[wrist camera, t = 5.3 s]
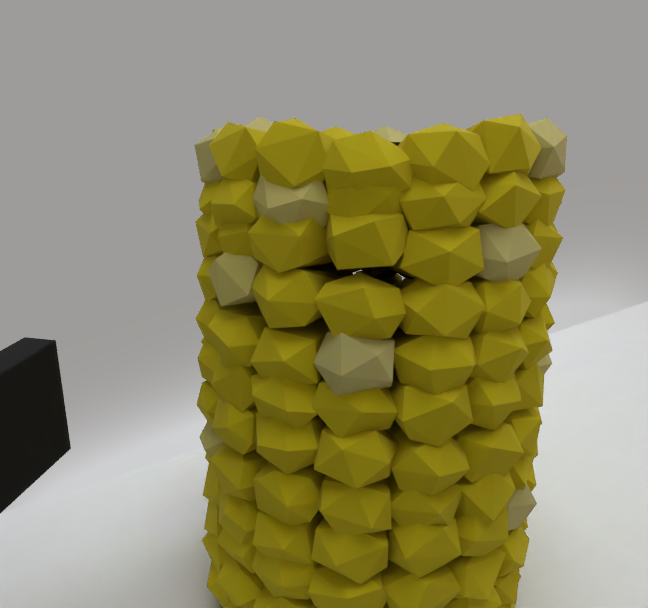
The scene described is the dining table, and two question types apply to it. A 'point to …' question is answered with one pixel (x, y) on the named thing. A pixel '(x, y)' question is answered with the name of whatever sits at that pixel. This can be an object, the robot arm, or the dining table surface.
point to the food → (374, 359)
